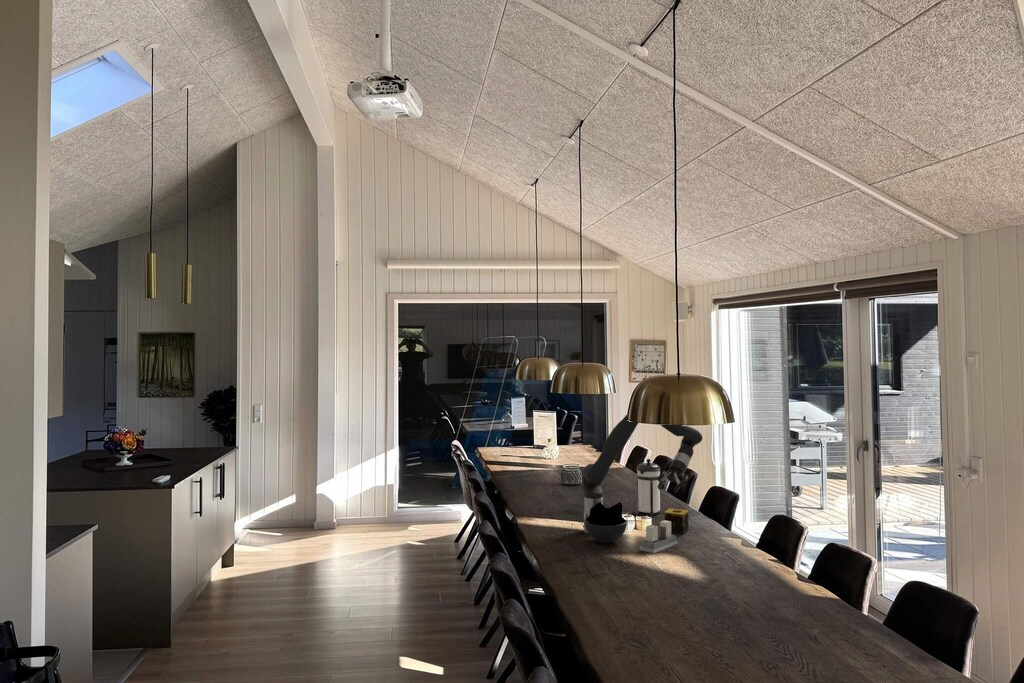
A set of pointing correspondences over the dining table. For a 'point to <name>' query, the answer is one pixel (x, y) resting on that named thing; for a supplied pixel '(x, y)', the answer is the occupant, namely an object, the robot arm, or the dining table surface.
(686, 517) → the candle
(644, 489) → the coffee press
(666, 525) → the tall off-white block
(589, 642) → the dining table surface
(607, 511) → the coal bowl
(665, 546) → the gray compartment block tray
